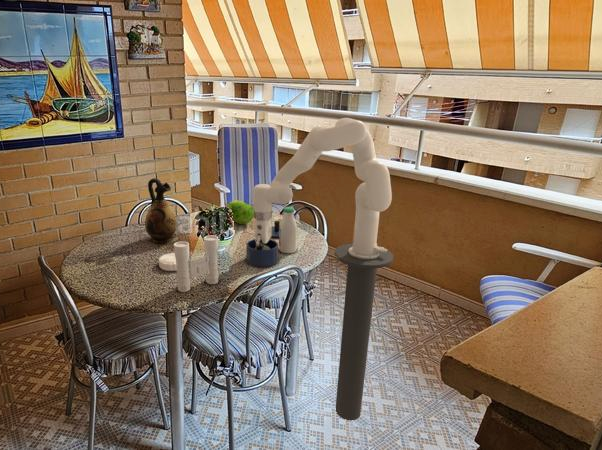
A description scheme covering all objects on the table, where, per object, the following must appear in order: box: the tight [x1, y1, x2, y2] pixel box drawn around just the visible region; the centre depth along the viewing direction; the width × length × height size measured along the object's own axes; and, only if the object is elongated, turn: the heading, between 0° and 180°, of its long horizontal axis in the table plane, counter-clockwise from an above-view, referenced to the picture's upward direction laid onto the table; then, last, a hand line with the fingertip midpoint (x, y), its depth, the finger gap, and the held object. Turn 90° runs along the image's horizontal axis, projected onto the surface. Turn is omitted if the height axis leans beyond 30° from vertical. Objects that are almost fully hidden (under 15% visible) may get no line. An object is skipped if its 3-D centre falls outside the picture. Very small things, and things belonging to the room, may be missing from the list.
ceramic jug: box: [144, 177, 178, 244], centre depth 195 cm, size 17×15×30 cm
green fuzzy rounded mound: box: [226, 199, 254, 225], centre depth 220 cm, size 13×23×12 cm, turn 25°
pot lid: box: [271, 220, 281, 238], centre depth 203 cm, size 14×14×6 cm
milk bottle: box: [278, 206, 298, 254], centre depth 180 cm, size 8×8×20 cm
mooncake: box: [158, 252, 177, 272], centre depth 171 cm, size 12×12×4 cm
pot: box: [245, 238, 279, 268], centre depth 173 cm, size 13×13×8 cm
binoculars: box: [173, 234, 220, 293], centre depth 151 cm, size 17×5×18 cm, turn 118°
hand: (262, 254), depth 173 cm, fingers closed on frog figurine, 6 cm apart
